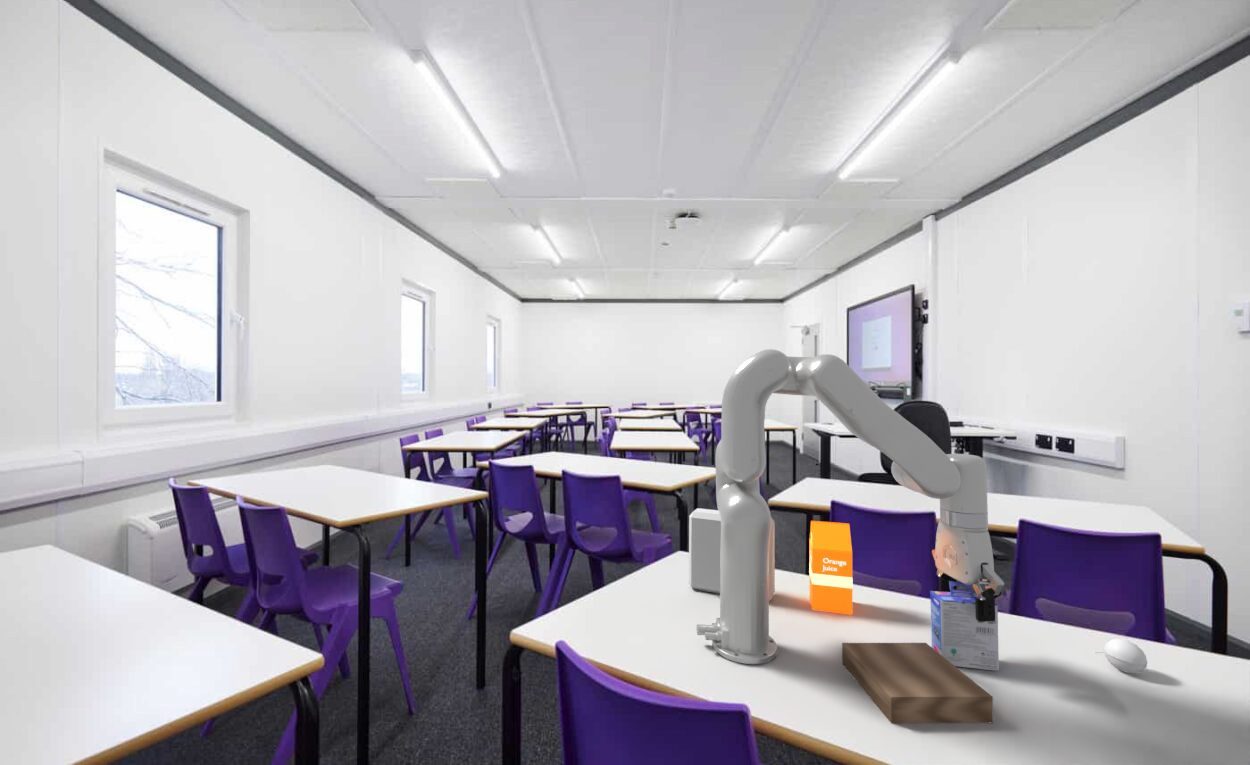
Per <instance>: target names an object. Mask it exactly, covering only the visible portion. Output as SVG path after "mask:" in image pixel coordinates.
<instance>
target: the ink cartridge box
mask: <svg viewBox="0 0 1250 765" xmlns="http://www.w3.org/2000/svg"><path fill="white" fill-rule="evenodd" d="M949 586H950V592H939V590H938V591H937V590H935V591H934V590H930V591H929V595H930V597H929V598H930V621H931V623H930V624H931V626H930V627H931V628H930V629H931V630H930V631H931V647H932V648H933V649H934V650H936V651H937V652H938V653H939V654H940V655H942V656H943V657H944V658H945V659H947V660H948V661H949V662H950V663H952V664H953V665H954V666H955V667H957V668H958V667H960V668H968V669H969V668H970V669H976V670H977V669H978V670H987V671H995V672H998V671H999V670H1000V665H999V663H1000V662H999V658H1000V657H999V656H1000V654H999V612H998V611H999V605H998V604H997V603H996V602H995V621H981V622H980V621H978V620H976V610H975V598H978V596H977V594H976V593H973V592H972V588H971V585H965V584H963V583H961V582H959V581H956V582H955V581H949ZM954 586H960V587H964V588H966V589H967V590H962V589H957V590H955V589H953V587H954Z"/></svg>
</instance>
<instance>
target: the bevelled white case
mask: <svg viewBox="0 0 1250 765" xmlns="http://www.w3.org/2000/svg"><path fill="white" fill-rule="evenodd" d="M688 518H689V520H688V522H689V524H688V585H689V586H690V587H691V589H693V590H697V589H698V591H702V590H703V591H704V592H708V593H709V592H710V593H713V594H714V593H715V594H719V595H720V544H721V517H720V514H719V511H718V509H709V508H700V507H699V508H698V507H697V508H695V509H694V510H692V512H691V513H690V514H689V515H688ZM775 523H776V522H775V520H774V519H773V517H772V516H771V535H770V544H769V602H770V601H772V600H773V598H774V595H775V590H776V588H775V586H776V585H775V576H776V575H775V571H776V570H775V569H776V567H775V561H776V560H775V558H776V556H775V547H776V545H775V544H776V542H775V541H776V540H775V538H776V537H775V536H776V535H775V534H776V531H775V530H776V527H775V526H776V524H775Z"/></svg>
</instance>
